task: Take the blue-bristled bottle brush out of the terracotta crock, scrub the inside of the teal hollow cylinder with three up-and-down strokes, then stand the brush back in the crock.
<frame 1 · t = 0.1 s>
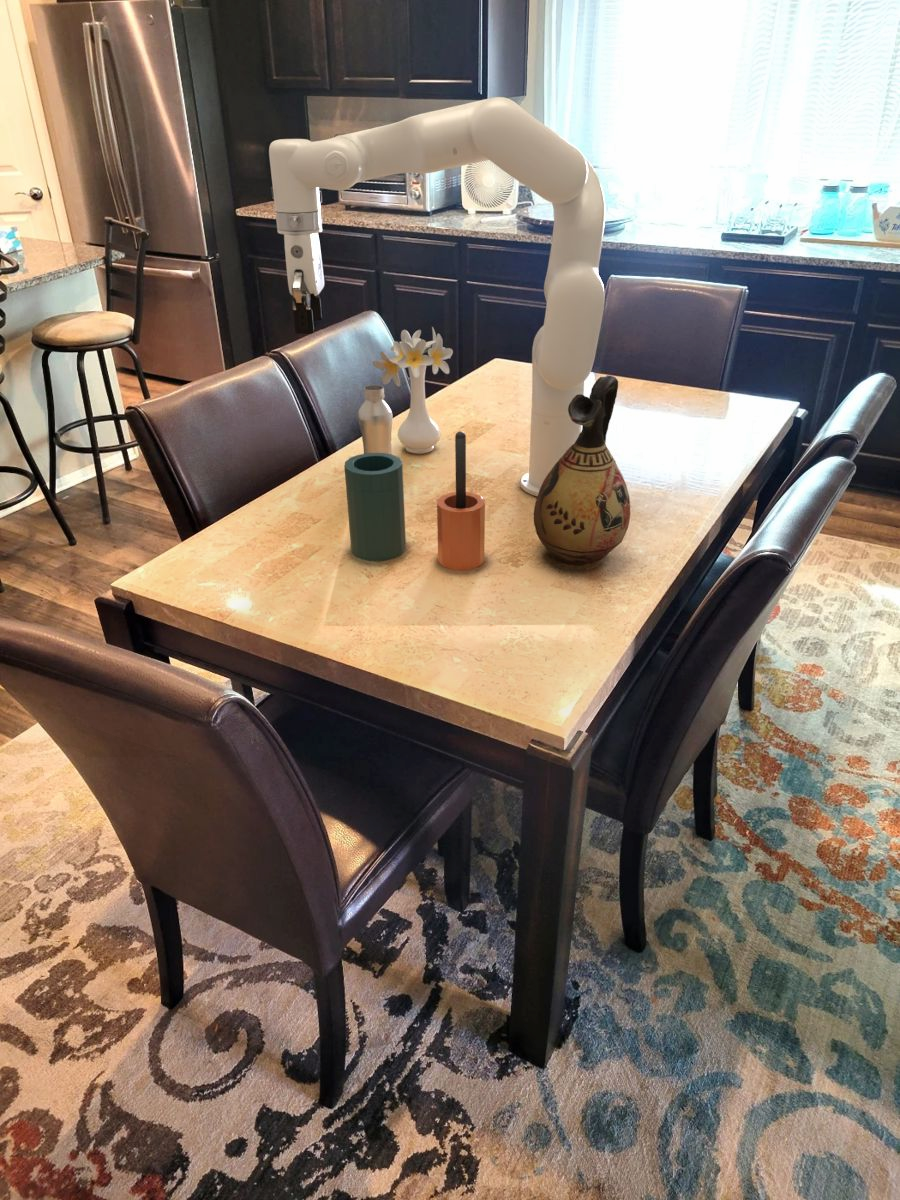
hand: (309, 326, 152), 31 cm above the table, tool pointing down, fingers open, 9 cm apart
crock: (461, 562, 141), on the table
teal hollow cylinder: (378, 551, 145), on the table
flower vase: (419, 451, 185), on the table
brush: (461, 559, 141), point 1 cm above the table, touching crock
ceramic jug: (580, 556, 142), on the table
metal bottle: (380, 488, 168), on the table
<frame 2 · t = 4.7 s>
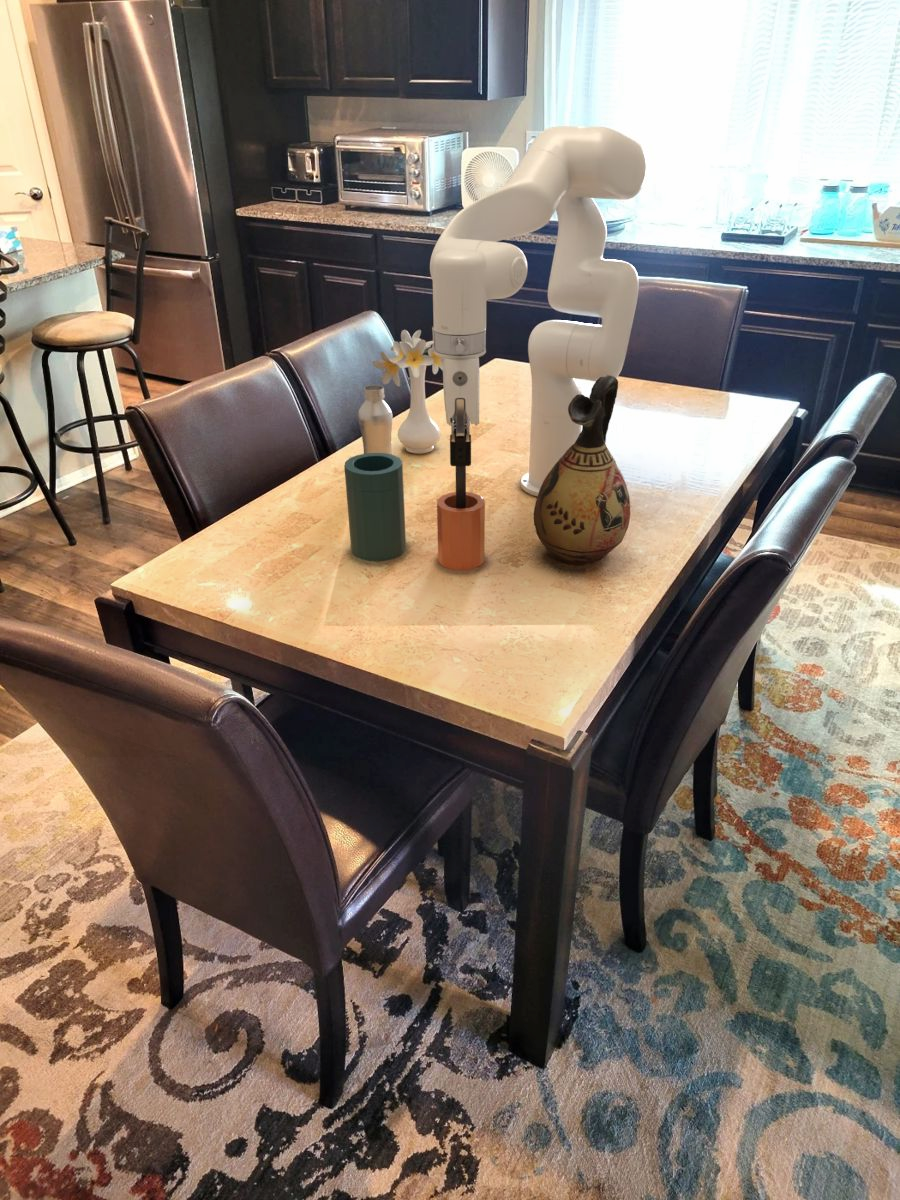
hand: (460, 461, 132), 18 cm above the table, tool pointing down, fingers closed on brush
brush: (461, 559, 141), point 1 cm above the table, touching crock, gripper
everything else where it was.
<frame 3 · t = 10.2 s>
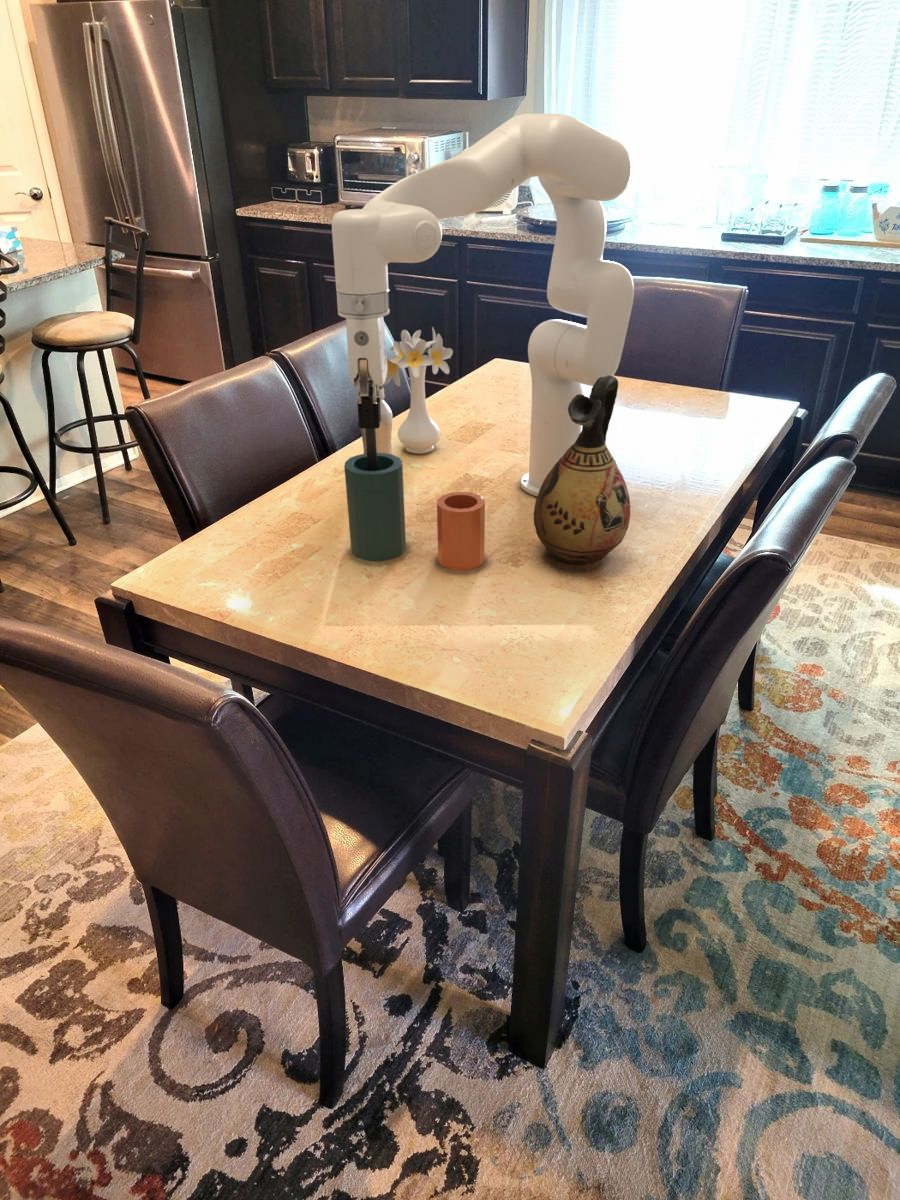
hand: (370, 424, 133), 22 cm above the table, tool pointing down, fingers closed on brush
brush: (375, 523, 142), point 5 cm above the table, touching gripper
everything else where it was.
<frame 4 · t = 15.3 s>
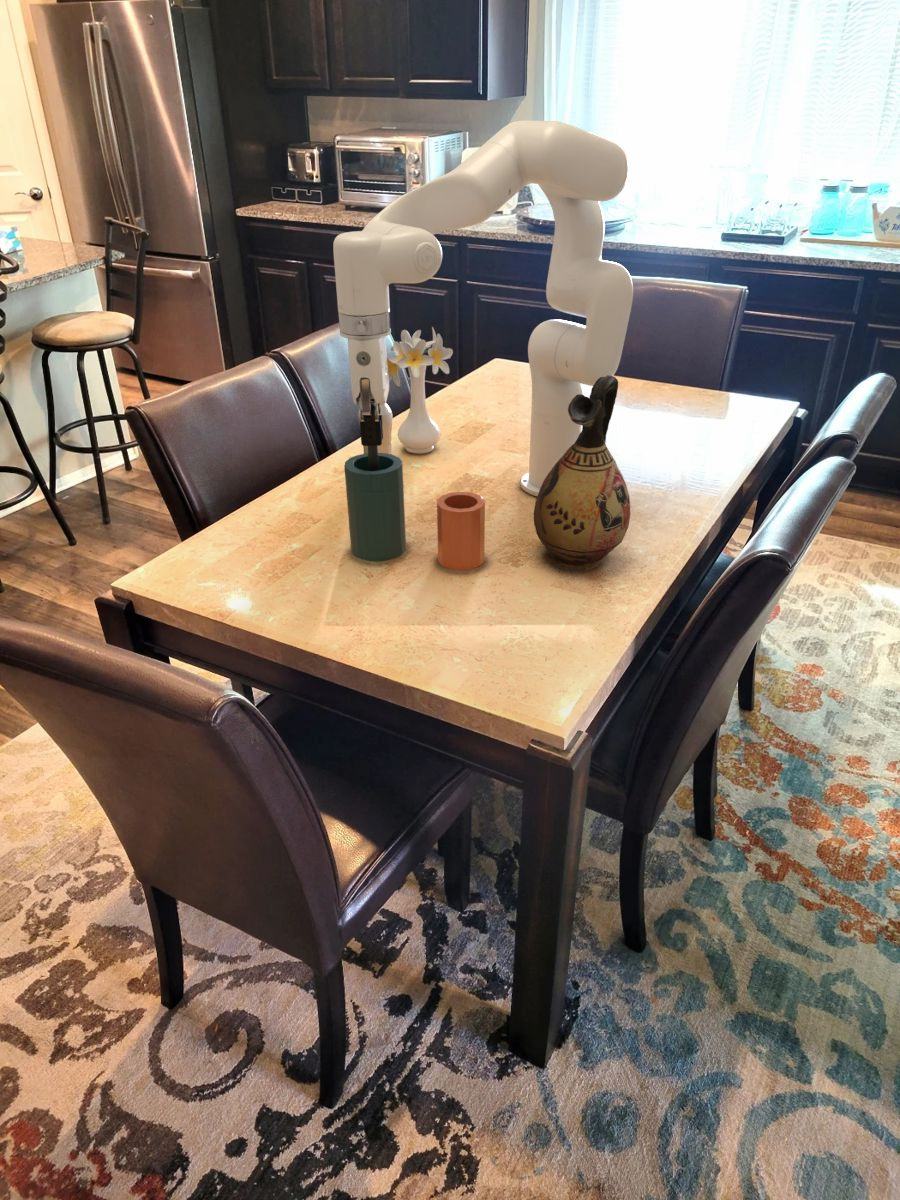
hand: (372, 441, 134), 20 cm above the table, tool pointing down, fingers closed on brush
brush: (378, 538, 143), point 2 cm above the table, touching gripper
everything else where it was.
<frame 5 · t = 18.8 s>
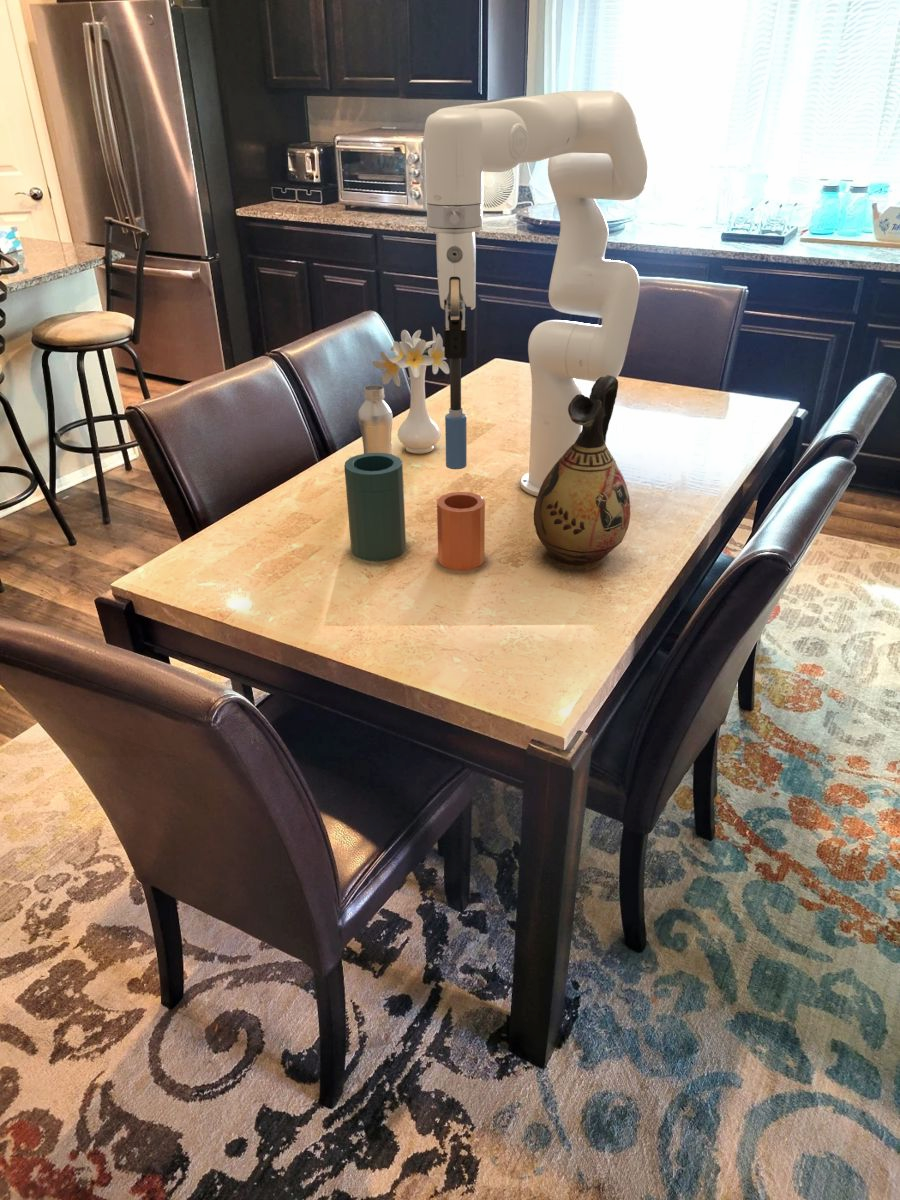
hand: (455, 354, 123), 34 cm above the table, tool pointing down, fingers closed on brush
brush: (456, 465, 132), point 17 cm above the table, touching gripper
everything else where it was.
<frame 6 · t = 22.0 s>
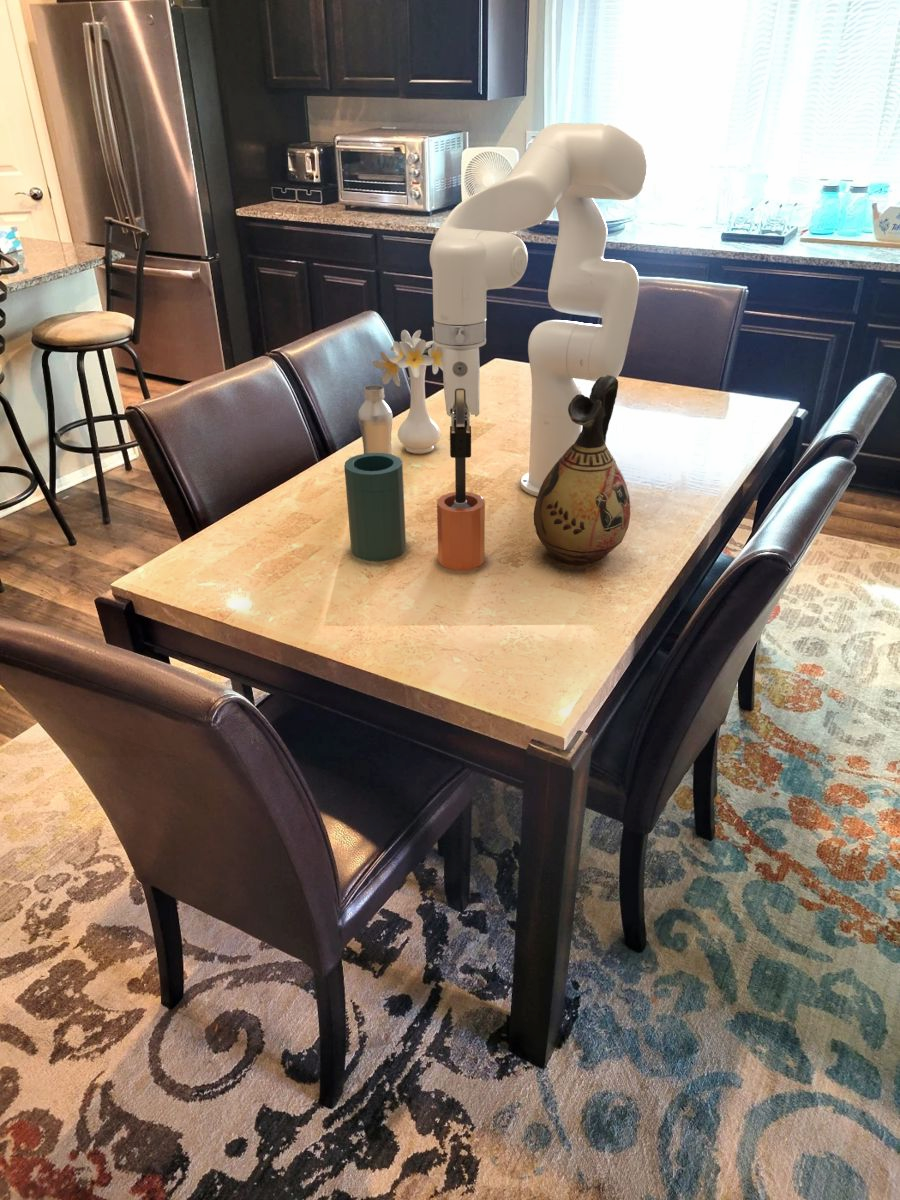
hand: (460, 453, 131), 19 cm above the table, tool pointing down, fingers closed on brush
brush: (460, 551, 140), point 2 cm above the table, touching gripper
everything else where it was.
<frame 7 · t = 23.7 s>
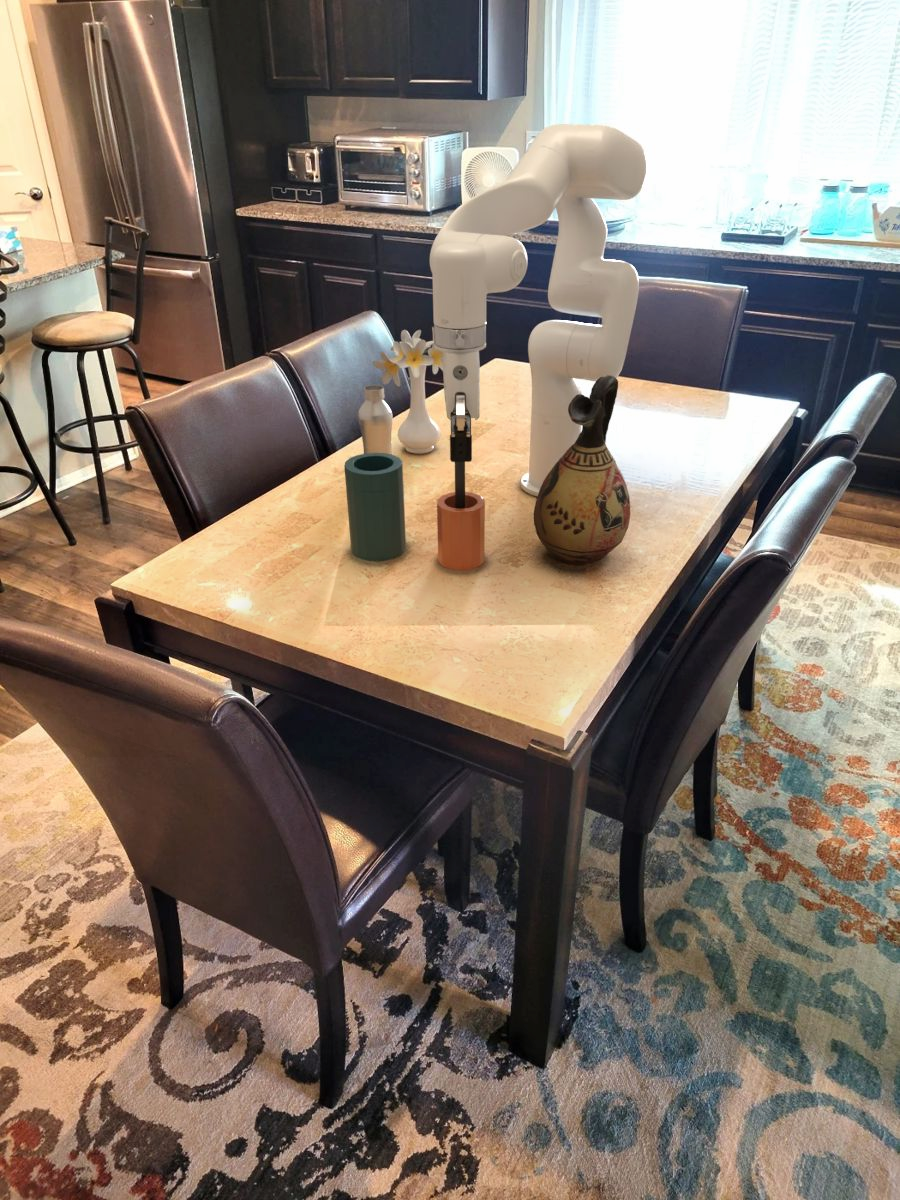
hand: (461, 448, 131), 20 cm above the table, tool pointing down, fingers open, 9 cm apart
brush: (460, 559, 141), point 1 cm above the table, touching crock
everything else where it was.
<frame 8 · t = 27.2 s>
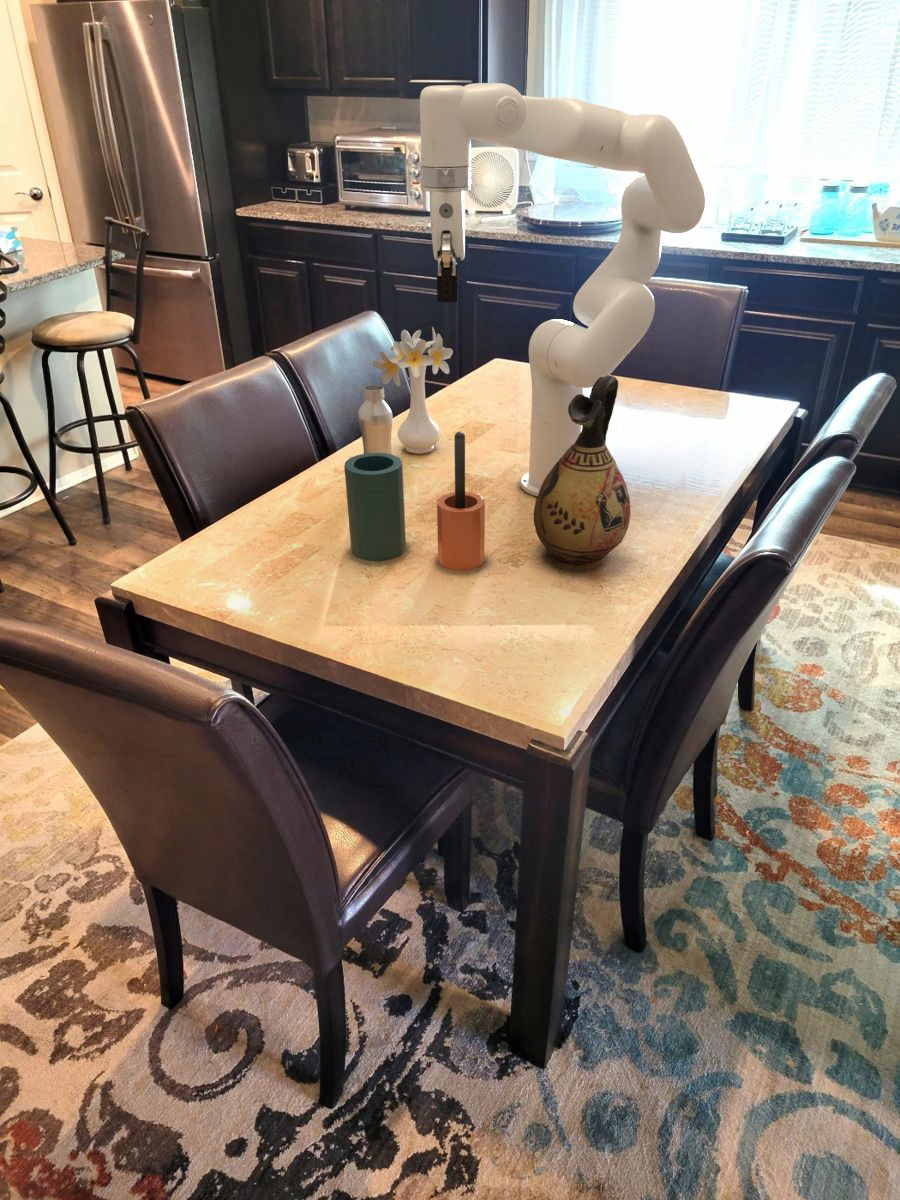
hand: (447, 295, 139), 38 cm above the table, tool pointing down, fingers open, 9 cm apart
nothing on the table moved.
at the end: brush 0.1 cm off-centre in the crock, point 0.6 cm above the crock's base; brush tilted 0°; teal hollow cylinder moved 0.0 cm from its start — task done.
